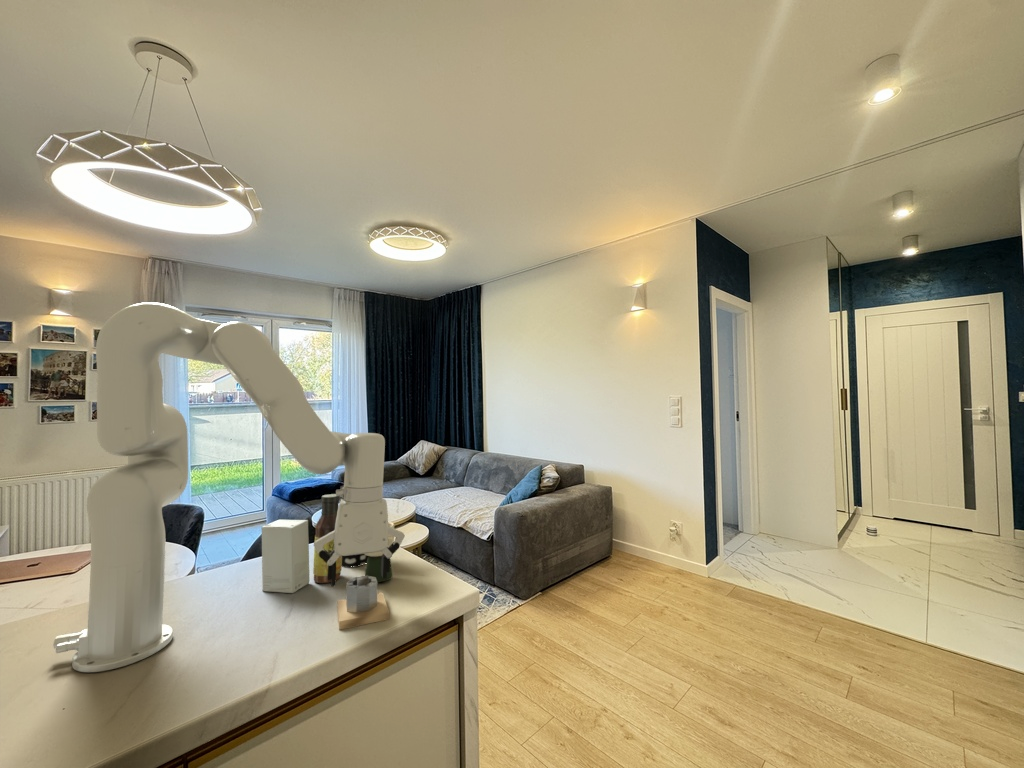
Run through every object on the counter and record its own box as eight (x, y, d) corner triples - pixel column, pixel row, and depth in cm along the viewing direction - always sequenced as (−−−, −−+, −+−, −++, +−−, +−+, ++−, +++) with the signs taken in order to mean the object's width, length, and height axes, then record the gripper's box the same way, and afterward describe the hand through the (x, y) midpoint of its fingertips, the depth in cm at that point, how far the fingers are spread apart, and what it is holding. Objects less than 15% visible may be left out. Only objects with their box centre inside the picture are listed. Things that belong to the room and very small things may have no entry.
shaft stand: (339, 629, 77) (339, 591, 78) (337, 608, 85) (337, 573, 86) (388, 619, 81) (389, 582, 81) (382, 599, 89) (382, 566, 90)
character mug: (404, 581, 98) (405, 526, 99) (378, 592, 93) (379, 533, 93) (378, 569, 105) (379, 518, 106) (352, 579, 100) (353, 524, 100)
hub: (347, 615, 79) (347, 590, 80) (345, 602, 85) (346, 578, 85) (378, 609, 82) (378, 584, 82) (374, 597, 87) (374, 574, 87)
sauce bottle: (330, 585, 96) (332, 499, 97) (307, 583, 97) (309, 498, 98) (347, 574, 102) (348, 493, 103) (324, 572, 103) (326, 492, 104)
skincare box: (309, 583, 97) (311, 519, 98) (291, 595, 91) (293, 526, 92) (278, 580, 99) (280, 517, 99) (258, 591, 93) (260, 524, 93)
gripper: (316, 500, 77) (311, 594, 76) (409, 495, 85) (405, 580, 84) (316, 492, 84) (311, 578, 83) (402, 488, 91) (399, 567, 90)
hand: (358, 579), depth 83 cm, fingers open, 9 cm apart
